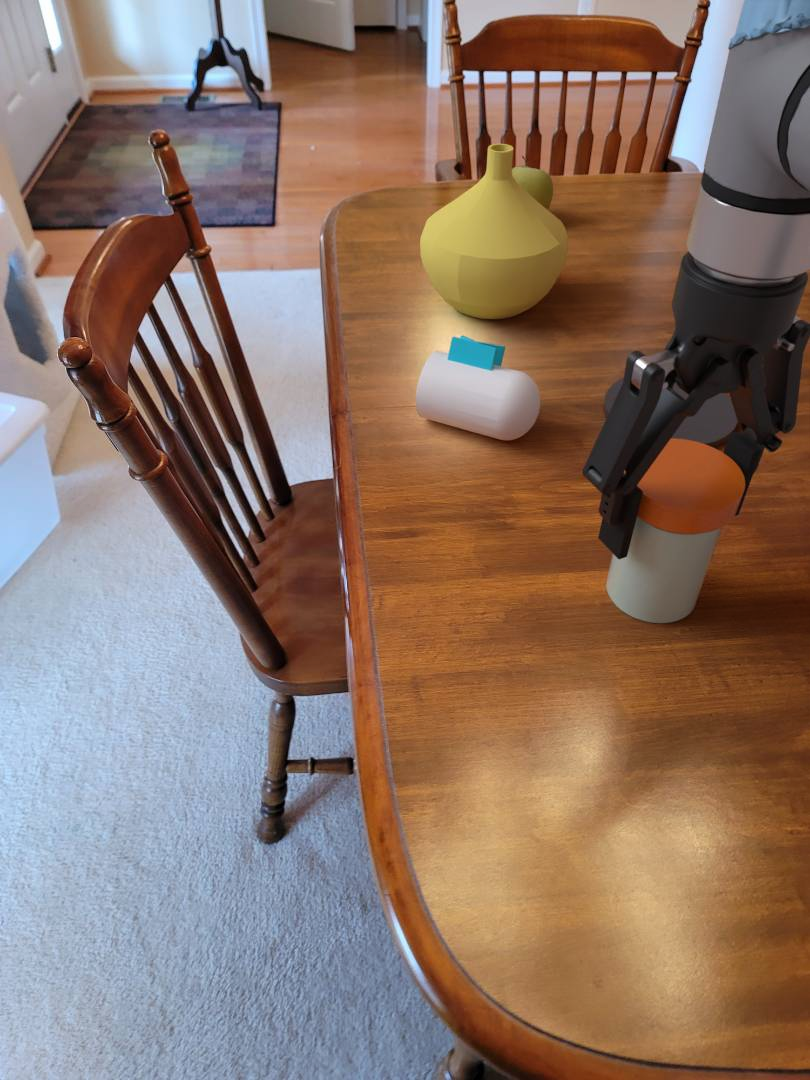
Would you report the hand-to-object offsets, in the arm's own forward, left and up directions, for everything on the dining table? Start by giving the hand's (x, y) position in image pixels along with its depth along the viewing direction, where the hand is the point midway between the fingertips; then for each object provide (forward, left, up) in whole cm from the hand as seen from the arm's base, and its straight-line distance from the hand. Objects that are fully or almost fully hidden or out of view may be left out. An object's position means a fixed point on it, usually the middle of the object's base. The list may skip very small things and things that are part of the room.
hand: (669, 526), depth 66 cm
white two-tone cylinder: (+21, -19, -8) cm, 29 cm away
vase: (+29, -44, -8) cm, 53 cm away
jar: (0, 0, -7) cm, 7 cm away
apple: (+32, -70, -8) cm, 77 cm away
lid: (0, 0, +5) cm, 5 cm away
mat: (+3, -27, -7) cm, 28 cm away
